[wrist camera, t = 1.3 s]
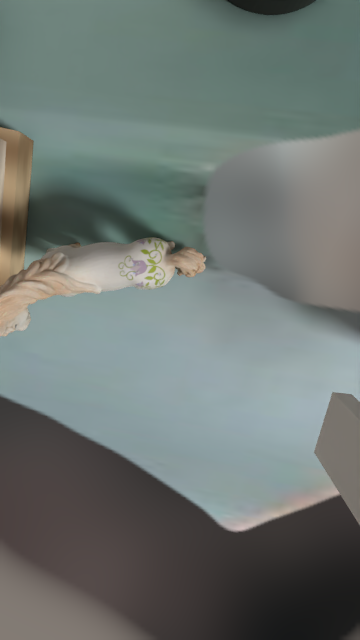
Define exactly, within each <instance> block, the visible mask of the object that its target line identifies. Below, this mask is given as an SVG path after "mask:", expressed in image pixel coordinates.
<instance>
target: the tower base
mask: <svg viewBox="0 0 360 640" xmlns="http://www.w3.org/2000/svg"><path fill="white" fill-rule="evenodd" d="M32 154H33V140H31V139H30V138H28V137H27V136H25V135H24V134H22V133H21V132H19V131H15V130H10V129H6V128H2V127H0V286H1V285H4V284H5V282H6V281H7V279H8V278H9V277H11V276H12V275H14V274H18V273H19V272H20V271H21V270H23V269H24V257H25V244H26V231H27V218H28V205H29V192H30V180H31V167H32Z"/></svg>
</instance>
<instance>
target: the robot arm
mask: <svg viewBox="0 0 360 640" xmlns="http://www.w3.org/2000/svg"><path fill="white" fill-rule="evenodd" d="M229 1H230V2H232V3H233V4H235V5H237V6H238V7H240V8H242V9H245V10H247V11H250V12H254V13H258V14H264V15H279V14H285V13H290V12H293V11H296V10H299V9H301V8H304V7H306V6H307V5H309V4H311V3H313V2H314V1H316V0H229ZM314 453H315V454H316V456H317V458H318V459H319V461H320V462H321V464H322V466H323V467H324V469H325V470H326V472H327V474H328V475H329V477H330V478H331V480H332V482H333V483H334V485H335V486H336V488H337V490H338V491H339V493H340V494H341V496H342V498H343V499H344V501H345V502H346V504H347V506H348V507H349V508H350V510H351V512H352V513H353V515H354V517H355V518H356V520H357V521H358V523H359V525H360V402H359V401H358V400H357V399H356V398H355V397H354V396H353V395H352V394H343V393H335V392H333V393H332V396H331V399H330V402H329V406H328V409H327V412H326V415H325V418H324V422H323V425H322V428H321V431H320V435H319V438H318V441H317V444H316V448H315V451H314Z"/></svg>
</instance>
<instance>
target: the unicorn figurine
mask: <svg viewBox="0 0 360 640" xmlns="http://www.w3.org/2000/svg"><path fill="white" fill-rule="evenodd" d="M174 247H175V243H174V242H173V241H171V242H165V241H164V240H162V239H159V238H154V237H151V238H144V239H139V240H137V241H135V242H133V243H130V244H120V243H114V242H99V243H94V244H89V245H86V246H82V247H81V245H80V243H75V244H70V245H68V246H60V247H58V248H49V249H48V250H47V251H46V254H45V255H44V256H43V257H42V258H41V259H40V260H37V261H34V262H33V263H31V264H30V266H29V267H28V269H27V270H21V271H20V272H19V273H18V274H14V275H12V276H11V277H9V278H8V279H7V281H6V282H5V284H4V285H1V286H0V337H1V336H7V335H8V333H10V332H13V331H15V330H19V331H23V330H25V329H26V328H27V327H28V324H29V323H30V320H31V317H30V313H29V312H28V308H27V306H28V304H33V303H35V302H36V301H37V300H39V299H46V298H48V297H51V296H53V295H61V296H65V297H70V296H75V295H76V294H78V293H84V292H93V293H96V294H100V292H101V291H113V290H118V289H122V288H125V287H130V286H134V287H136V288H137V289H155V288H159V287H162V286H164V285H166V284H167V283H168V282H169V280H170V279H171V278H172V276H173V274H174V271H175V268H176V269H178V272H177V274H178V275H179V276H180V275H182V274H185V276H187V277H194V276H195V274H196V273H201V272H203V270H204V269H205V264H204V263H203V262H204V261H205V260H206V257H205V256H204V257H203V255H202V254H201V253H198V252H197V251H196V250H195V249H193V248H190V247H184V248H183V249H182V250H180V251H179V252H177V253H175V254H172V253H171V250H172V249H173V248H174Z"/></svg>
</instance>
